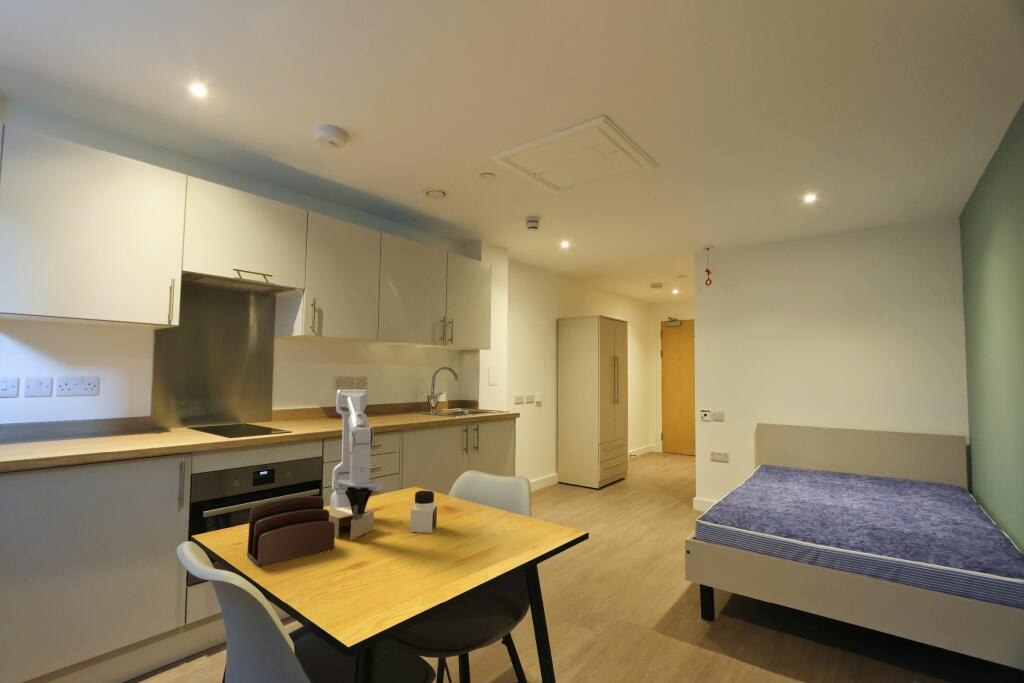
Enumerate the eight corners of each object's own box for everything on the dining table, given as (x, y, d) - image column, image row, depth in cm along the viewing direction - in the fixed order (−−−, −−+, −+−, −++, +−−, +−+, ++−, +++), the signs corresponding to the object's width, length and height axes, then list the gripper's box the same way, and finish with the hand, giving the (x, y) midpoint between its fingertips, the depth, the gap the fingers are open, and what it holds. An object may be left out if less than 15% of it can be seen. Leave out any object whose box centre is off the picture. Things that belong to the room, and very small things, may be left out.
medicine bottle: (432, 533, 152) (433, 493, 153) (409, 532, 152) (411, 493, 153) (436, 526, 159) (437, 489, 160) (414, 526, 160) (415, 488, 161)
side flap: (350, 540, 144) (351, 506, 144) (372, 529, 155) (373, 497, 156) (354, 540, 143) (356, 506, 144) (376, 529, 154) (377, 498, 155)
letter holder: (246, 556, 130) (249, 502, 132) (321, 541, 144) (323, 492, 145) (257, 567, 123) (260, 510, 124) (334, 550, 136) (337, 498, 137)
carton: (319, 531, 152) (320, 511, 153) (354, 523, 161) (354, 504, 162) (337, 538, 146) (338, 517, 146) (371, 529, 155) (372, 509, 156)
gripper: (331, 467, 146) (328, 514, 144) (374, 470, 142) (372, 519, 140) (345, 464, 152) (343, 508, 151) (386, 467, 148) (385, 513, 147)
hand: (358, 513), depth 146 cm, fingers closed on side flap, 2 cm apart
